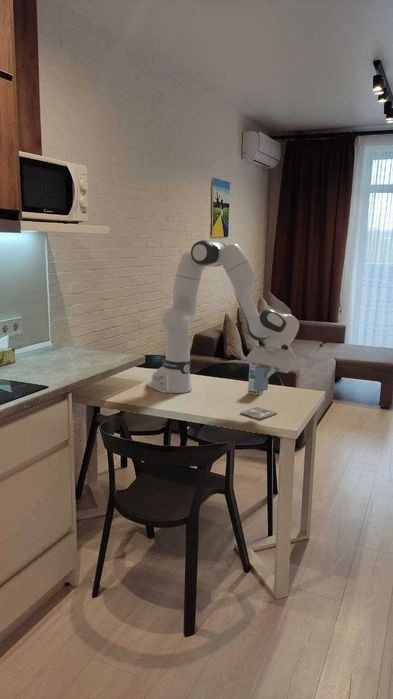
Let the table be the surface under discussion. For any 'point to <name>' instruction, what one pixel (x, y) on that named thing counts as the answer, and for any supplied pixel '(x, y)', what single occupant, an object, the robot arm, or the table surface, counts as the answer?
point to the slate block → (261, 379)
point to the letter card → (258, 413)
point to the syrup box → (252, 382)
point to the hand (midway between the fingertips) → (260, 375)
